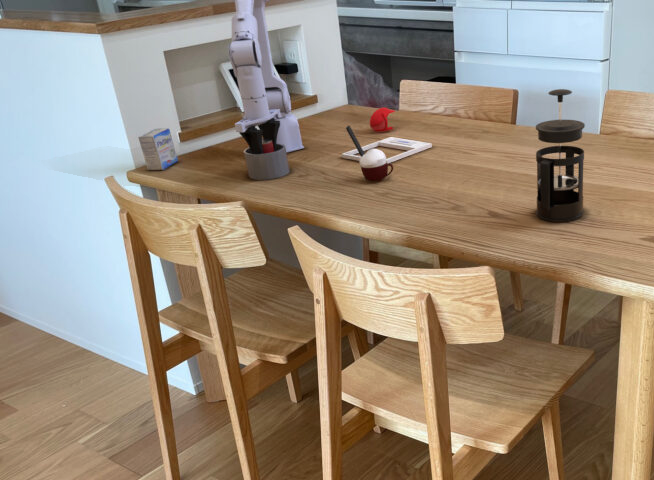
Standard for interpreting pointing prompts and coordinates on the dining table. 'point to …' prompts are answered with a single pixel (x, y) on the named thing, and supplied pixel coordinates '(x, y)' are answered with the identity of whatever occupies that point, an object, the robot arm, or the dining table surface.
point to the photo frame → (392, 143)
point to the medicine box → (158, 149)
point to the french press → (558, 190)
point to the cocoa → (371, 161)
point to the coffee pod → (267, 146)
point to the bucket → (267, 163)
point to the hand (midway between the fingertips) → (265, 155)
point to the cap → (380, 120)
